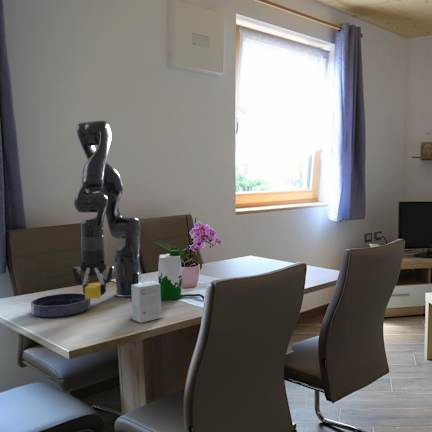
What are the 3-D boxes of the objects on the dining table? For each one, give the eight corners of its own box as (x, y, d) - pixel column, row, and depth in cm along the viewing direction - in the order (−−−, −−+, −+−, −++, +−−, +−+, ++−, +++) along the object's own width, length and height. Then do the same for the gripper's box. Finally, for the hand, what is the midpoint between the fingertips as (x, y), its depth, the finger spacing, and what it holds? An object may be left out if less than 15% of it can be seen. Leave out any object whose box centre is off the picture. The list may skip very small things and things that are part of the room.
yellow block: (90, 293, 202) (90, 283, 201) (104, 293, 203) (103, 282, 202) (84, 298, 195) (84, 287, 194) (99, 298, 196) (98, 287, 195)
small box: (153, 314, 205) (152, 280, 204) (162, 318, 201) (161, 283, 200) (131, 319, 199) (130, 284, 198) (140, 323, 195) (139, 287, 194)
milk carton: (182, 299, 228) (181, 251, 226) (159, 301, 224) (157, 252, 222) (181, 294, 236) (180, 248, 234) (158, 296, 232) (157, 249, 230)
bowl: (96, 303, 219) (95, 292, 219) (81, 317, 201) (81, 305, 200) (42, 305, 215) (42, 294, 214) (22, 319, 196) (22, 307, 196)
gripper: (117, 246, 202) (118, 291, 204) (74, 246, 199) (76, 293, 201) (112, 249, 195) (113, 296, 197) (67, 250, 192) (69, 298, 193)
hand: (94, 294), depth 199 cm, fingers closed on yellow block, 4 cm apart
